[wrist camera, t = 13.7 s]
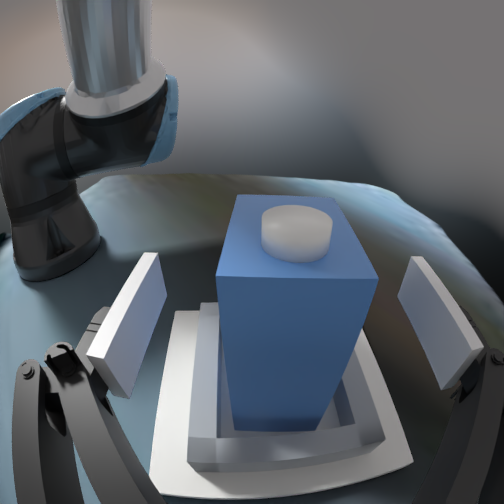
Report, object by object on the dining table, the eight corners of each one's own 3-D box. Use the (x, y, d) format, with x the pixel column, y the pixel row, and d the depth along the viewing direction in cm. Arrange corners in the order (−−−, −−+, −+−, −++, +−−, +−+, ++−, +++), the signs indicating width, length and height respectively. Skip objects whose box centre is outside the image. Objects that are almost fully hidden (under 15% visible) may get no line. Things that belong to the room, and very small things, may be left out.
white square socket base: (177, 318, 24) (170, 289, 22) (348, 310, 25) (356, 281, 23) (153, 493, 11) (132, 483, 9) (406, 466, 11) (433, 448, 10)
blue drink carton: (242, 347, 20) (237, 176, 14) (307, 348, 20) (335, 179, 13) (234, 430, 14) (213, 246, 8) (315, 430, 14) (386, 250, 7)
